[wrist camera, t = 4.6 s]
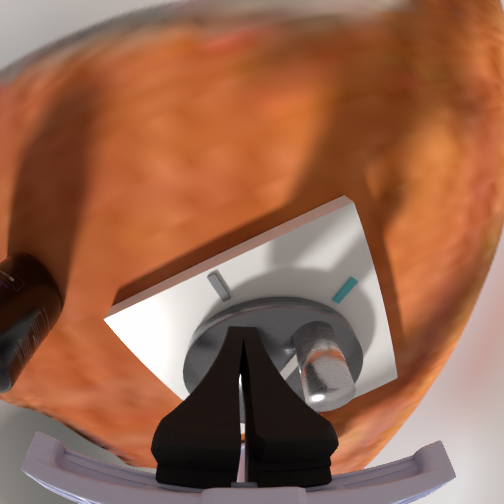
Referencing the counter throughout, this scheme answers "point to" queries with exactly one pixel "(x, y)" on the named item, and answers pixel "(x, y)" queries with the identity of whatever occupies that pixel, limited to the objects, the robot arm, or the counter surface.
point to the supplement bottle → (24, 314)
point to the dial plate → (266, 292)
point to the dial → (287, 348)
